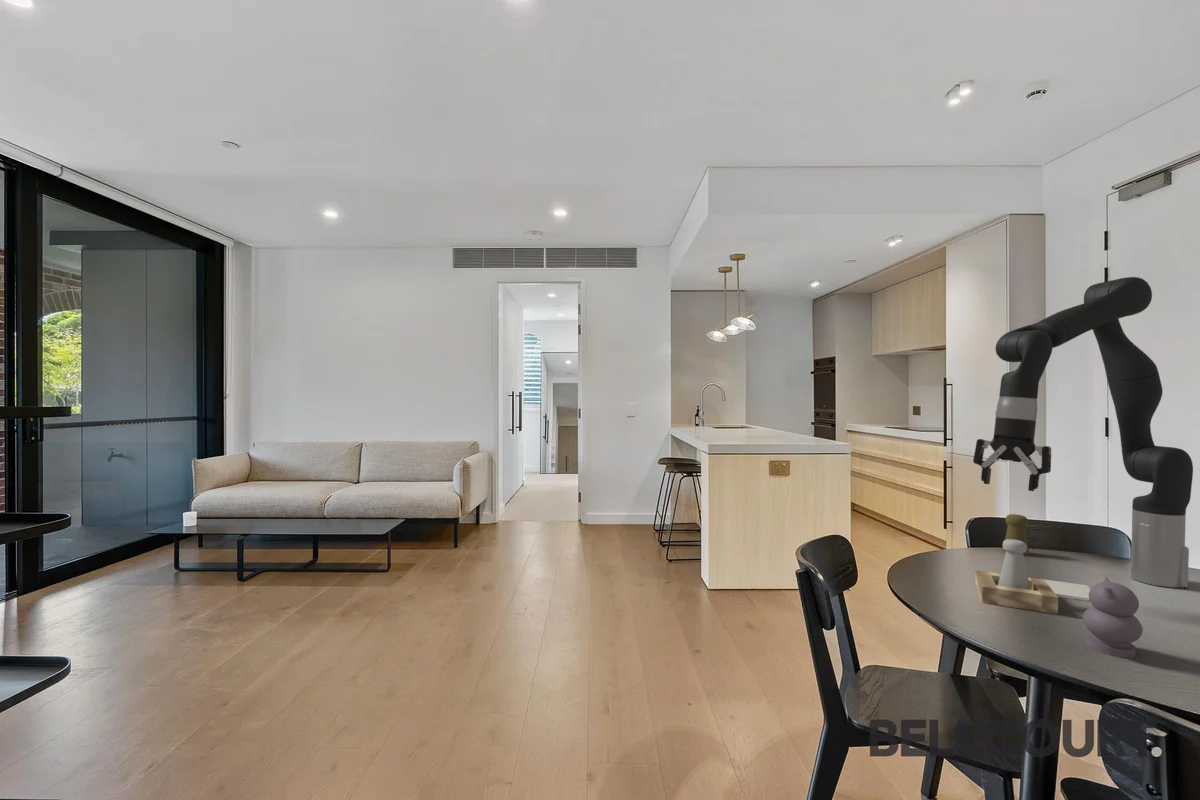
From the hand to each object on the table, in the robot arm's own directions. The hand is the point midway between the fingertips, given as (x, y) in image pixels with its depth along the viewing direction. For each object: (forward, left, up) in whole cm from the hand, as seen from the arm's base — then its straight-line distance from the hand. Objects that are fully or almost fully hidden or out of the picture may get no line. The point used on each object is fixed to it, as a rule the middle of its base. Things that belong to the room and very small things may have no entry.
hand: (1008, 487), depth 128 cm
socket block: (-1, +5, -24) cm, 25 cm away
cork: (-8, -40, -24) cm, 47 cm away
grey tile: (-12, -7, -24) cm, 28 cm away
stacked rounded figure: (-12, +27, -24) cm, 38 cm away
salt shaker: (-1, +5, -24) cm, 25 cm away
